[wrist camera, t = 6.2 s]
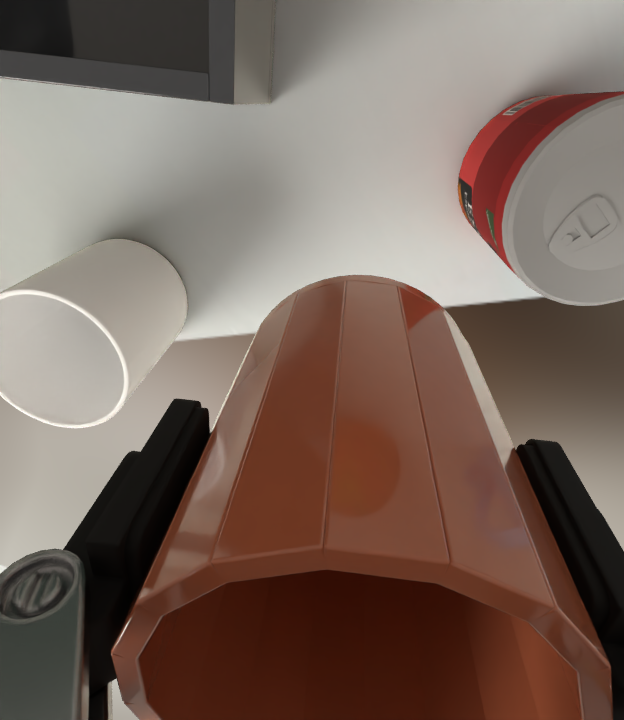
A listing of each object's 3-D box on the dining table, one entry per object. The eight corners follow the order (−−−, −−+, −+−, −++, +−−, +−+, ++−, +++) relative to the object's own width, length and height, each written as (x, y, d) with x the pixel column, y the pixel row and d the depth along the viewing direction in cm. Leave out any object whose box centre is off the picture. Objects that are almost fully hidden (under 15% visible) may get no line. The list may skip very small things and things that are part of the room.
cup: (198, 347, 34) (142, 431, 26) (46, 343, 36) (-58, 423, 27) (181, 235, 30) (108, 290, 22) (10, 235, 32) (-126, 286, 23)
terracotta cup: (496, 287, 13) (723, 597, 5) (443, 474, 16) (522, 838, 8) (248, 262, 13) (71, 514, 5) (247, 451, 16) (141, 779, 8)
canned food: (428, 197, 28) (464, 246, 18) (523, 62, 24) (631, 35, 15) (525, 263, 29) (606, 341, 20) (629, 145, 26) (790, 171, 16)
